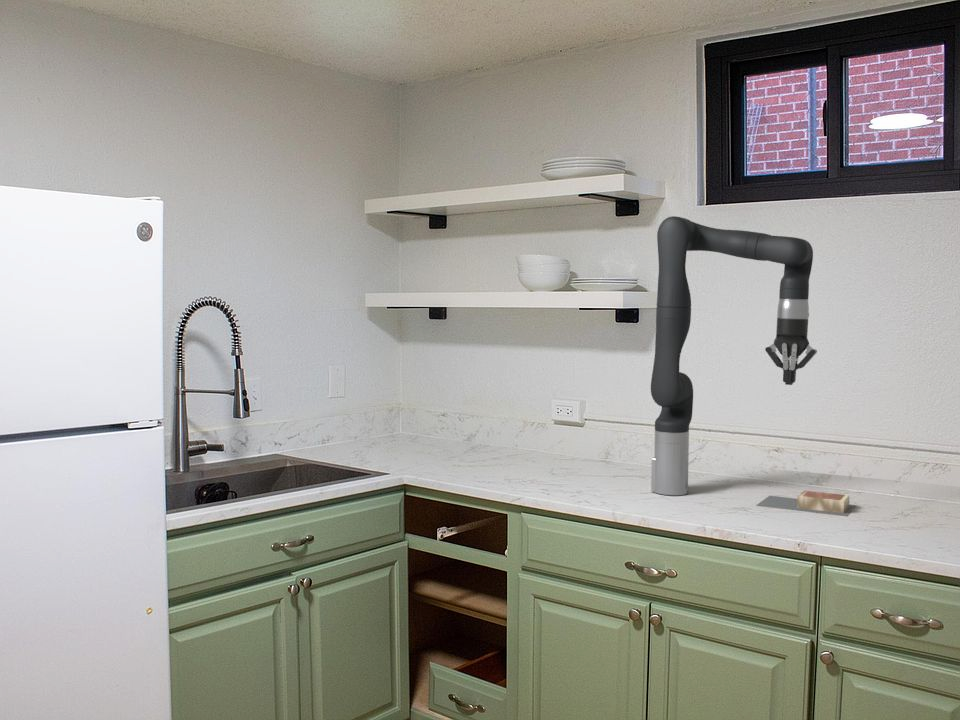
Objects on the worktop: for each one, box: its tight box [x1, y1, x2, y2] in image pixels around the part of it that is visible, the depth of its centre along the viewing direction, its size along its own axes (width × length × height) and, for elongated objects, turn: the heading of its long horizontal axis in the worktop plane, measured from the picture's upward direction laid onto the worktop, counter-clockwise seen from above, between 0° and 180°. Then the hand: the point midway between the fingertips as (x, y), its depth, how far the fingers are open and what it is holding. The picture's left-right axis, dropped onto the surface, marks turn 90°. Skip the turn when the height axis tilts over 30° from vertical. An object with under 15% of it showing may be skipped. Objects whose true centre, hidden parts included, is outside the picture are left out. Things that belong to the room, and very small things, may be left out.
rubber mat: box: [755, 495, 858, 518], centre depth 232 cm, size 22×14×1 cm, turn 59°
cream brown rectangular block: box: [797, 490, 850, 513], centre depth 230 cm, size 3×8×11 cm
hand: (789, 384), depth 233 cm, fingers closed
